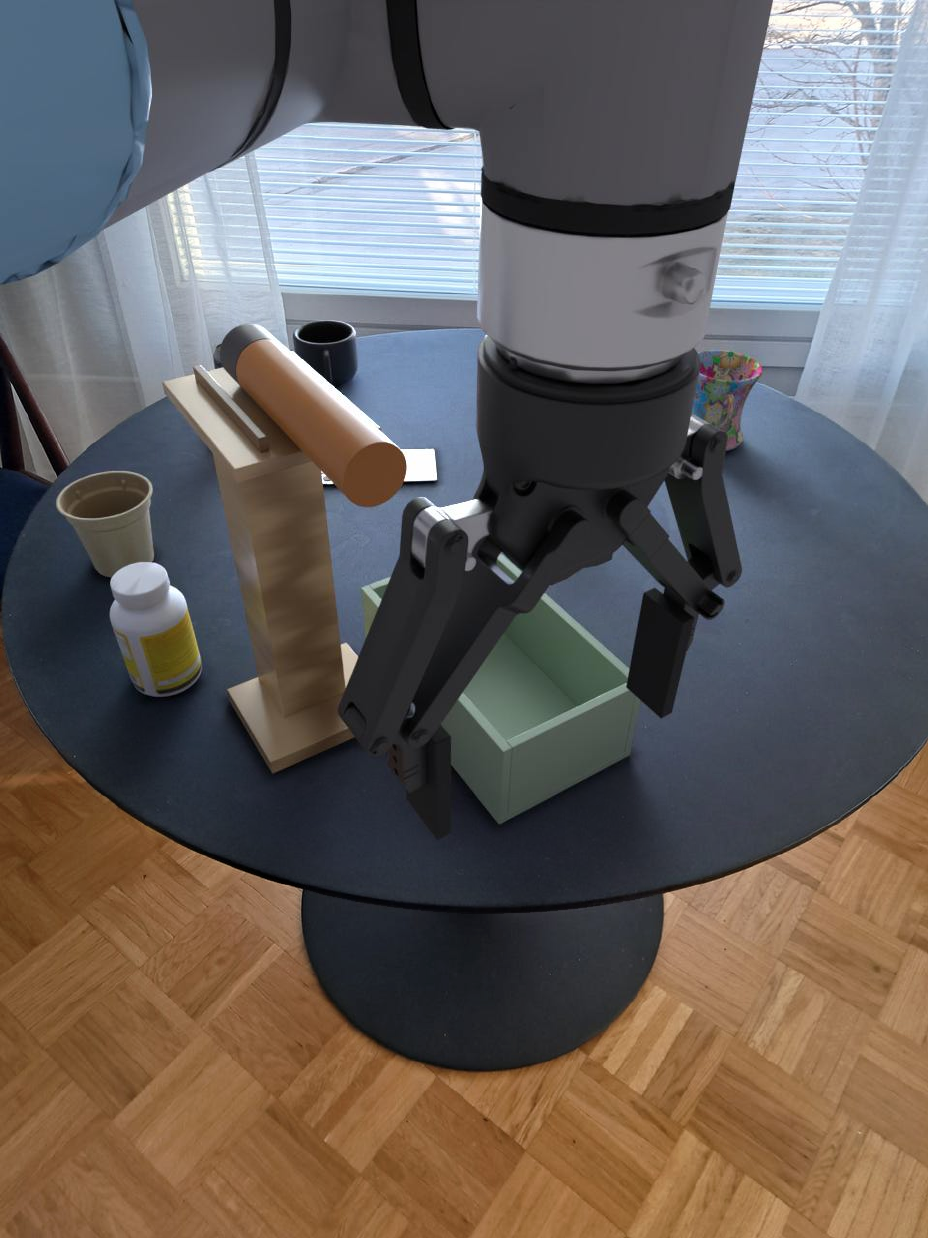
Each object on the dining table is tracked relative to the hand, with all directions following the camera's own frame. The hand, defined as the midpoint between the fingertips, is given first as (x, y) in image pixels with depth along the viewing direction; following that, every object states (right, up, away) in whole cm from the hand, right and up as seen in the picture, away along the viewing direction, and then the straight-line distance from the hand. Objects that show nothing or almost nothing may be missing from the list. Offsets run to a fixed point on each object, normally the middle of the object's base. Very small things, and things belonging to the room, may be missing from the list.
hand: (545, 754), depth 43 cm
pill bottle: (-32, +1, +39) cm, 50 cm away
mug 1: (-24, +41, +86) cm, 98 cm away
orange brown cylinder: (-14, +18, +12) cm, 26 cm away
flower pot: (-41, +13, +52) cm, 68 cm away
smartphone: (-16, +26, +67) cm, 73 cm away
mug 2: (+29, +30, +73) cm, 83 cm away
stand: (-18, -1, +35) cm, 40 cm away
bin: (-2, -1, +36) cm, 36 cm away
